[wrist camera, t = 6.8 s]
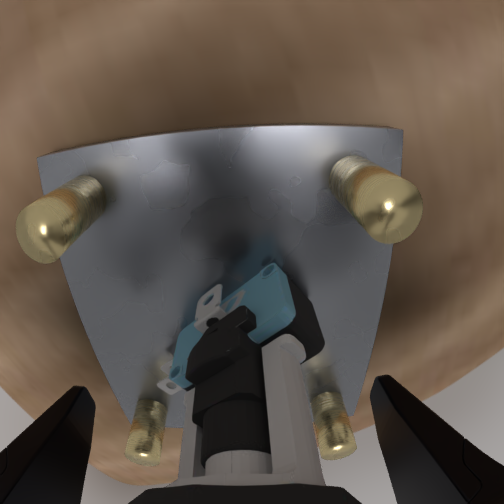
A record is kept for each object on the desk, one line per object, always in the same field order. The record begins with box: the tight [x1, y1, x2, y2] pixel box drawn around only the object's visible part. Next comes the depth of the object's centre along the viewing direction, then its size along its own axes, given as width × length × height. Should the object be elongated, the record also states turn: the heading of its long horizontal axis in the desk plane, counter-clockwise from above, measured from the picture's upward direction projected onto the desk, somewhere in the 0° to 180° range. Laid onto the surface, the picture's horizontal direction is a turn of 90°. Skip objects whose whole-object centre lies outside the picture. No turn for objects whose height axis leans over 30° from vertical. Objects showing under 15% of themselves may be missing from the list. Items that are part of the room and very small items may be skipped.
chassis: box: [16, 123, 423, 466], centre depth 11 cm, size 12×14×4 cm
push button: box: [128, 263, 362, 504], centre depth 7 cm, size 7×5×10 cm
